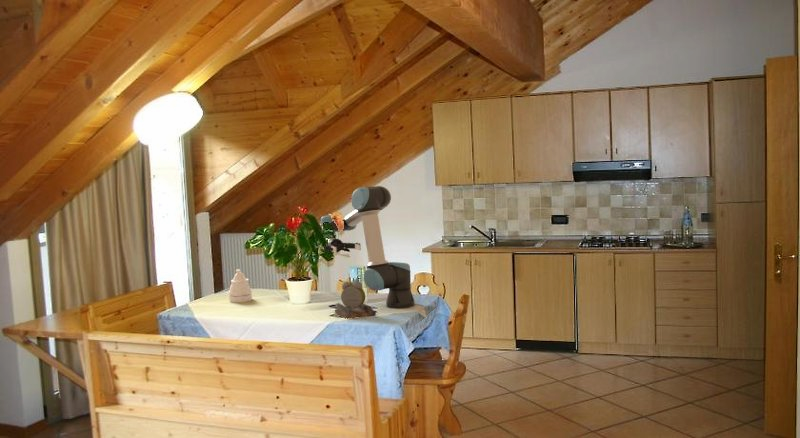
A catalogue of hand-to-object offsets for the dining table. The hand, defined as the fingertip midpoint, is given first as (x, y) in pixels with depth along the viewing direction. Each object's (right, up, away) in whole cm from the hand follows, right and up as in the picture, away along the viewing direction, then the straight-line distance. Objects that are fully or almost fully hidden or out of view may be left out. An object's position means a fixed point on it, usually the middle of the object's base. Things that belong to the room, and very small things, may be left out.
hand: (348, 248), depth 360 cm
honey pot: (-65, -32, +38) cm, 82 cm away
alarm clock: (+4, -31, -12) cm, 34 cm away
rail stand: (+4, -33, -10) cm, 35 cm away
